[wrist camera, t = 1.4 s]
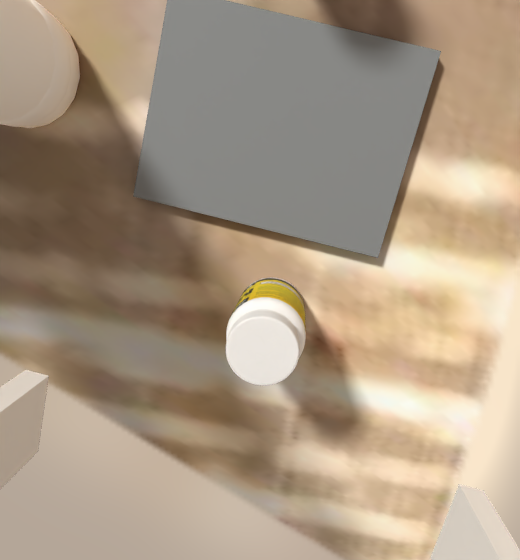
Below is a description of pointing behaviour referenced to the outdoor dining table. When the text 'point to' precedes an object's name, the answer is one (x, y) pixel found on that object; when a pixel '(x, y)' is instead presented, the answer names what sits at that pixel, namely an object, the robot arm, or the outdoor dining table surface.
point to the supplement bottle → (266, 332)
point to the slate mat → (281, 122)
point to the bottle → (34, 65)
